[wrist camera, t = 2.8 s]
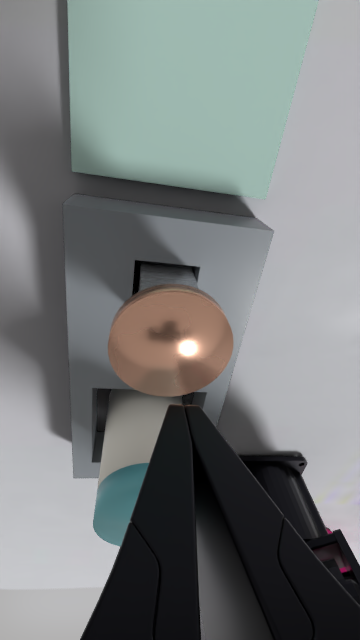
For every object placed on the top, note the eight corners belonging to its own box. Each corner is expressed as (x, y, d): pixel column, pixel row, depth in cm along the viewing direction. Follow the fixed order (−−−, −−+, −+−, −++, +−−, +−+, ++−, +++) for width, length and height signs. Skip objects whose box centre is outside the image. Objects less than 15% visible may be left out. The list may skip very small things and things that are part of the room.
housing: (256, 218, 16) (274, 231, 14) (196, 447, 25) (201, 477, 23) (74, 193, 15) (62, 204, 12) (79, 446, 23) (73, 478, 21)
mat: (321, -30, 12) (328, -36, 11) (262, 197, 16) (265, 199, 15) (67, -101, 10) (64, -111, 10) (73, 170, 14) (71, 171, 14)
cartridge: (186, 373, 21) (207, 490, 14) (176, 425, 23) (189, 545, 17) (110, 370, 20) (93, 492, 13) (107, 424, 23) (92, 550, 16)
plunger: (213, 246, 15) (246, 300, 10) (198, 324, 17) (219, 398, 12) (120, 236, 14) (109, 287, 10) (116, 318, 16) (105, 394, 12)
